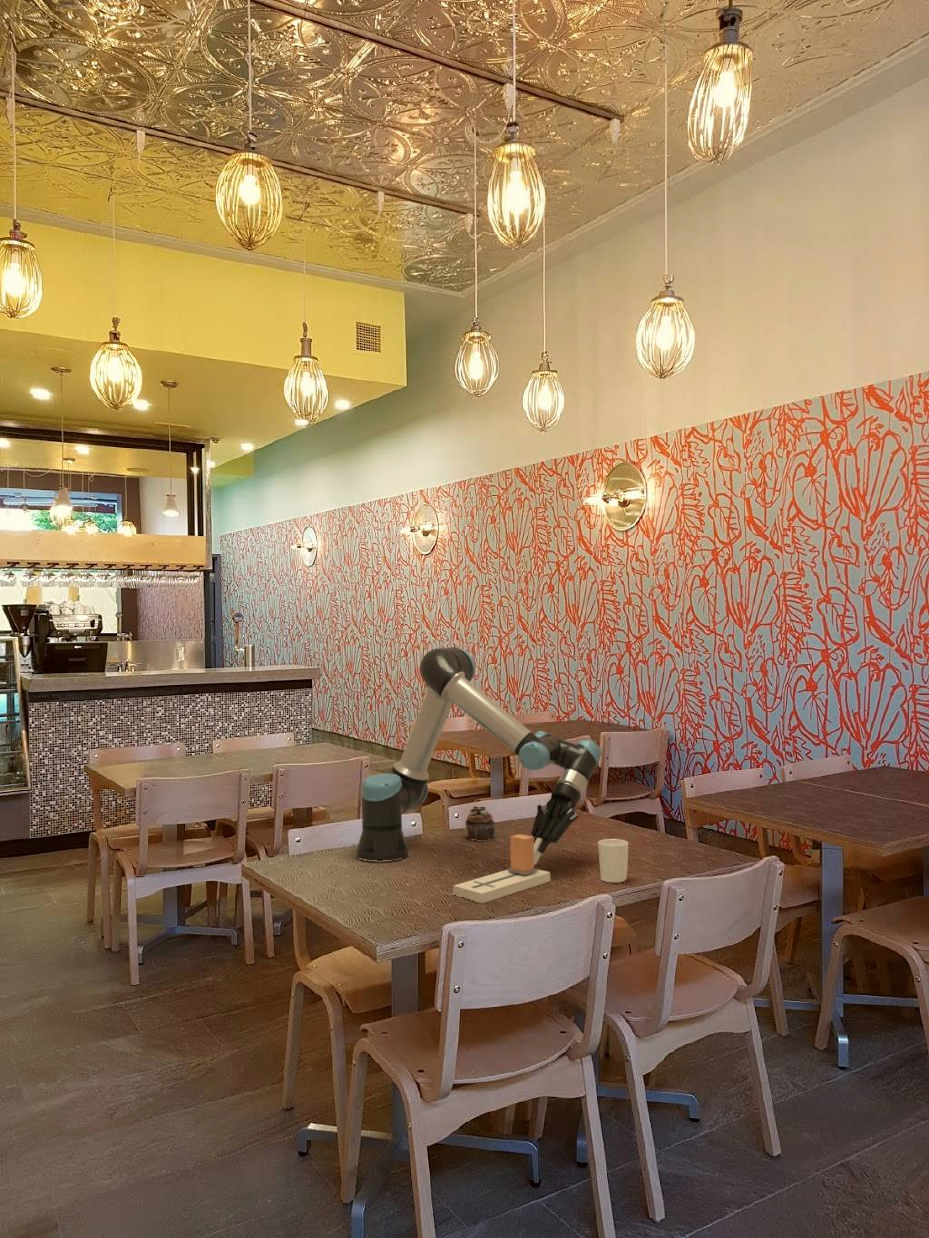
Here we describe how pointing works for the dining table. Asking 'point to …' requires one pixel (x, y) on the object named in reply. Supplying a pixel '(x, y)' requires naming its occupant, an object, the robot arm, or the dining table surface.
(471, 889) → the fader console
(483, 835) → the cupcake
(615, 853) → the white cup
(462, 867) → the dining table surface
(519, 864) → the fader knob
